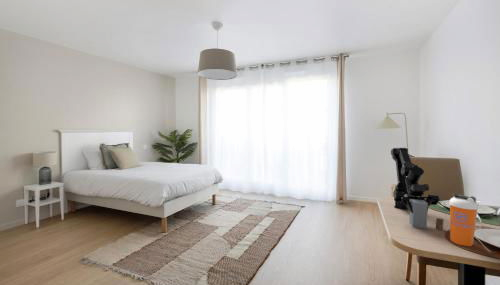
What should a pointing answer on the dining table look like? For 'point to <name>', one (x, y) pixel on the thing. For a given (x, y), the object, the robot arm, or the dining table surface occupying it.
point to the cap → (418, 213)
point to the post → (439, 223)
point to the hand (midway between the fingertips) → (419, 213)
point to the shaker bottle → (462, 219)
